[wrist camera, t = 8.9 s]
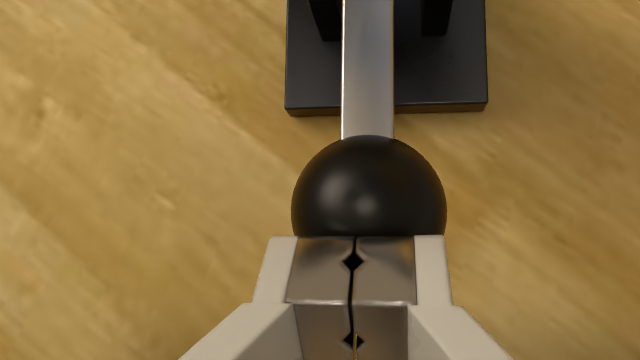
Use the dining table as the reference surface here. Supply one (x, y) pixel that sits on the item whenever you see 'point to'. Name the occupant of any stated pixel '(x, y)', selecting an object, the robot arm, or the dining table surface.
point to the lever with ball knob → (368, 148)
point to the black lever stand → (409, 56)
